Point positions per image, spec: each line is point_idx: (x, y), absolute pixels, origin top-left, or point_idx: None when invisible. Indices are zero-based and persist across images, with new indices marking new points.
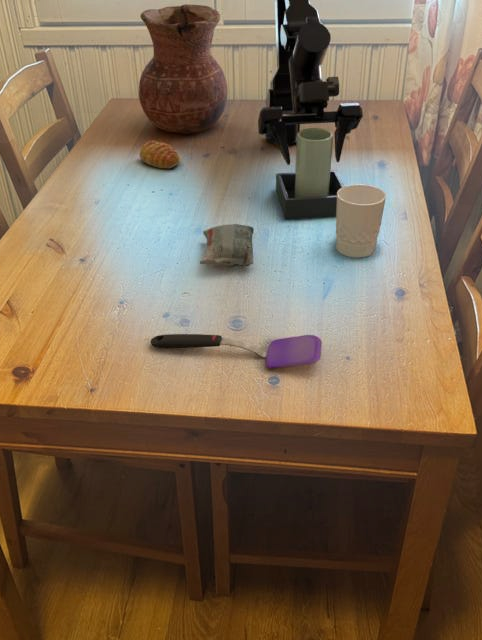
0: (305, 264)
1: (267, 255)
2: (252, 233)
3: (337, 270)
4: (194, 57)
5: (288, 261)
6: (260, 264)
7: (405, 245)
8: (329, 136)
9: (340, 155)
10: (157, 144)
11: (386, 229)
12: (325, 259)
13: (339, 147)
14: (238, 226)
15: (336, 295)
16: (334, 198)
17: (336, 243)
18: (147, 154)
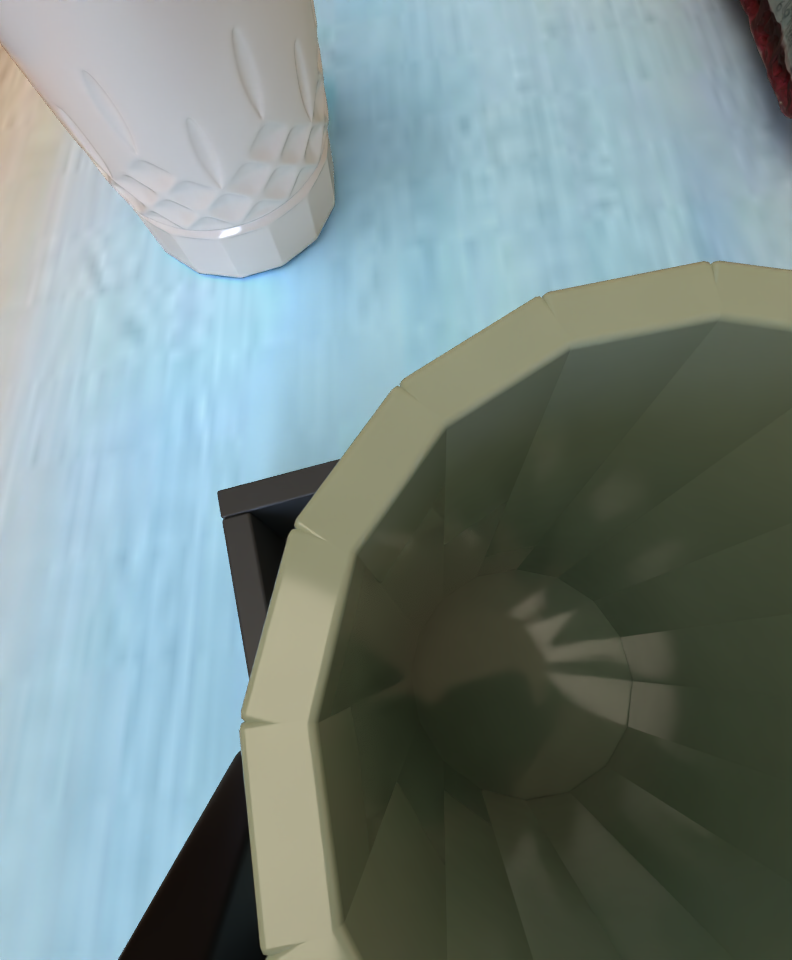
0: (466, 50)
1: (651, 83)
2: (788, 33)
3: (328, 35)
4: None
5: (544, 57)
6: (664, 17)
7: (6, 264)
8: (357, 878)
9: (213, 800)
10: None
11: (65, 403)
12: (381, 98)
13: (193, 902)
14: None
15: None
16: (336, 460)
17: (329, 142)
18: None
